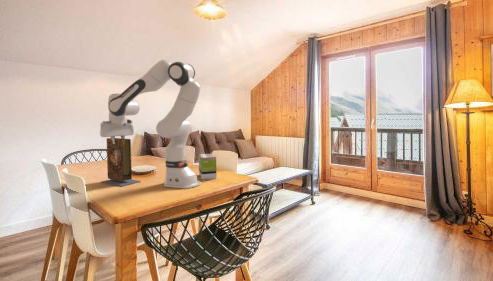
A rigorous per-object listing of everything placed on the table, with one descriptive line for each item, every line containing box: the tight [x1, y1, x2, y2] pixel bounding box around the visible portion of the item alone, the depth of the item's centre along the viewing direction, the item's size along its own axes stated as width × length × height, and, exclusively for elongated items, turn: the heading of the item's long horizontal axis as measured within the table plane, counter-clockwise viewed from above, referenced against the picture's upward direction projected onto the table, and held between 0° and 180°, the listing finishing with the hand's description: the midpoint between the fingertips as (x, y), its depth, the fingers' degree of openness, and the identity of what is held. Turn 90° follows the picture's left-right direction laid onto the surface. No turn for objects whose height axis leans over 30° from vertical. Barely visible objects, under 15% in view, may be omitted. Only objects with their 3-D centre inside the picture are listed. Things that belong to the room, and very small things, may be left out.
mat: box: [100, 178, 141, 188], centre depth 159 cm, size 20×13×1 cm, turn 62°
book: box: [106, 137, 133, 181], centre depth 158 cm, size 16×6×25 cm, turn 62°
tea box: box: [198, 153, 217, 181], centre depth 173 cm, size 15×10×15 cm, turn 17°
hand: (118, 143), depth 157 cm, fingers closed on book, 3 cm apart
